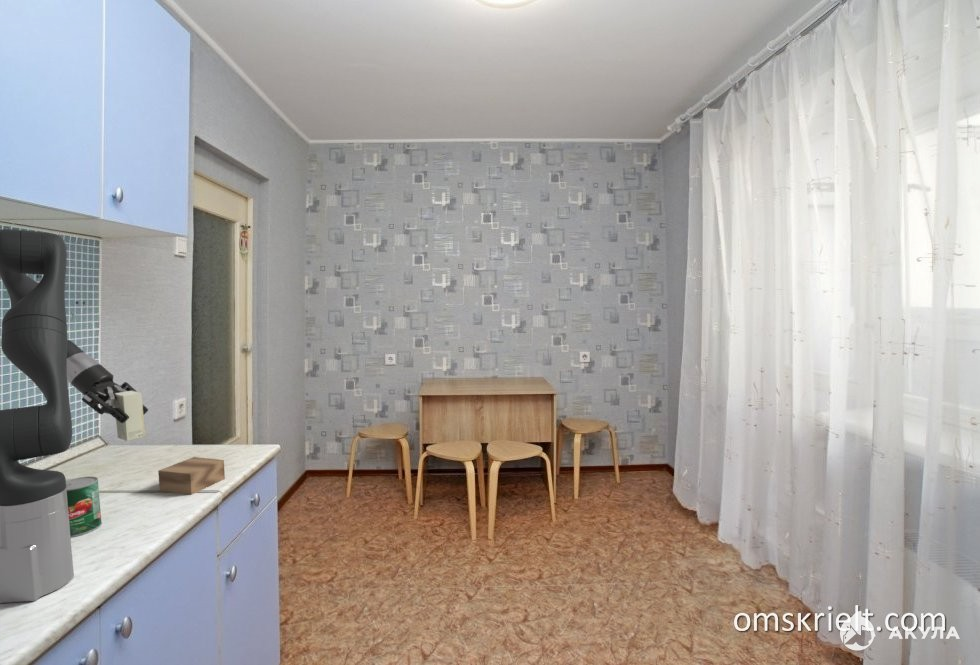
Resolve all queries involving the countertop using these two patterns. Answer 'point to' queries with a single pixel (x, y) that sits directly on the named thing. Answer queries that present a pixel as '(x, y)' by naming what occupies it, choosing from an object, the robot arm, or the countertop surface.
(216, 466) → the walnut block
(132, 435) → the skincare box
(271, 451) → the countertop surface
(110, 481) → the countertop surface
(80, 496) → the canned tomato
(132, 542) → the countertop surface
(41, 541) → the robot arm
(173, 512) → the countertop surface
